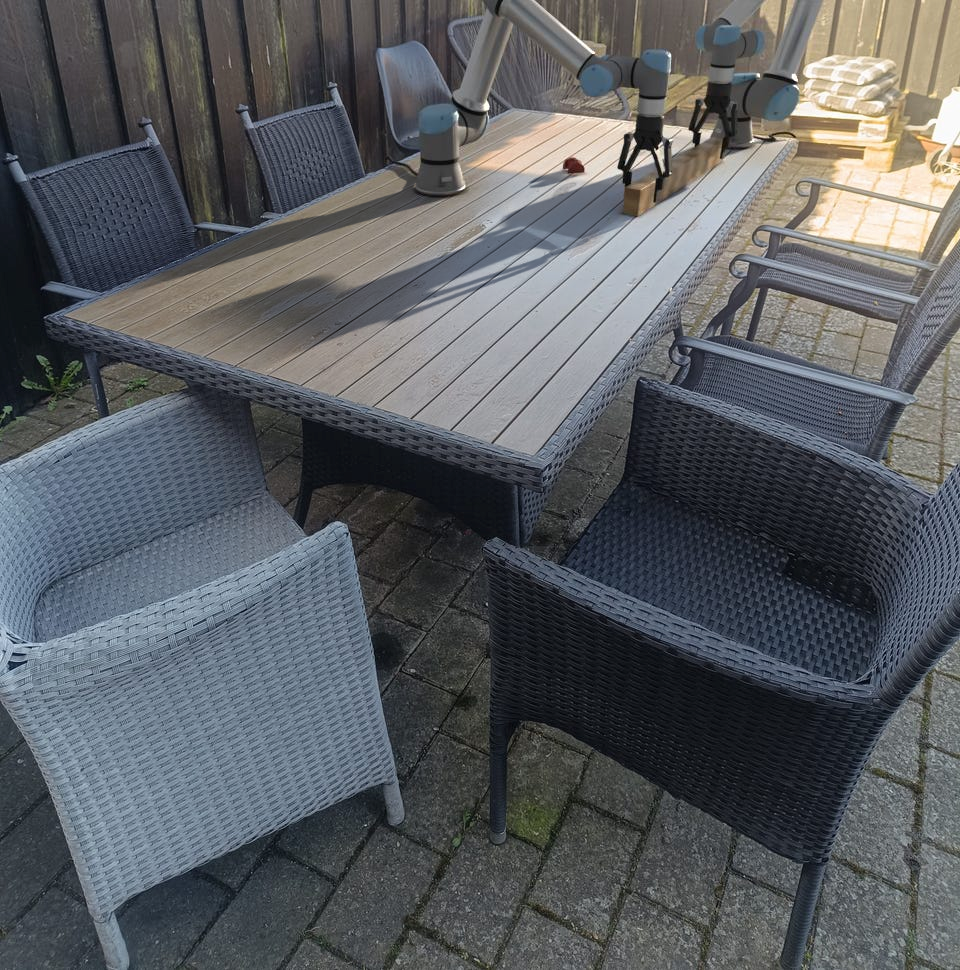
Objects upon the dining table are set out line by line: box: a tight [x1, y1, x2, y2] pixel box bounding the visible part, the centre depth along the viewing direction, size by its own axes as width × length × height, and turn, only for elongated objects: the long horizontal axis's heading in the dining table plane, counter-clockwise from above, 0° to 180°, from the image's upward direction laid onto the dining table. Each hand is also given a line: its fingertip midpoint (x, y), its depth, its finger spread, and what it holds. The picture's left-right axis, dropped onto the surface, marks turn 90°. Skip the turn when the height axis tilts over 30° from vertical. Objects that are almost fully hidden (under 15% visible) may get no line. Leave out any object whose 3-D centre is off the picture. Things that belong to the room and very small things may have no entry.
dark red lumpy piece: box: [562, 156, 586, 175], centre depth 273 cm, size 6×4×8 cm
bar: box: [621, 137, 723, 217], centre depth 260 cm, size 68×5×7 cm, turn 147°
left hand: (641, 198), depth 242 cm, fingers open, 8 cm apart
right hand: (708, 155), depth 279 cm, fingers open, 8 cm apart
